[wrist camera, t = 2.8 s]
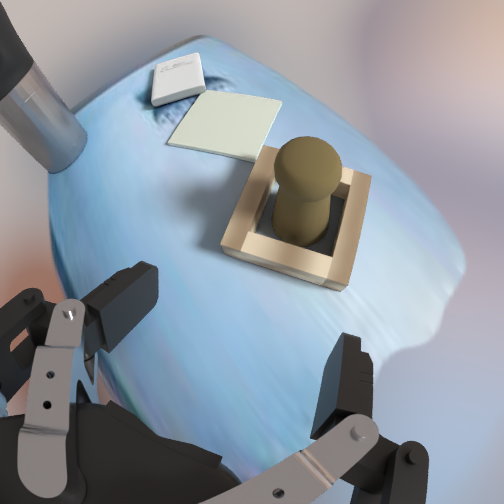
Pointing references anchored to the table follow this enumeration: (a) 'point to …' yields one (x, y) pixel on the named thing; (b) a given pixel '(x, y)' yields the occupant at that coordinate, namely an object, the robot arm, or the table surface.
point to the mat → (227, 124)
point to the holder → (290, 256)
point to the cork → (304, 190)
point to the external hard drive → (177, 79)
